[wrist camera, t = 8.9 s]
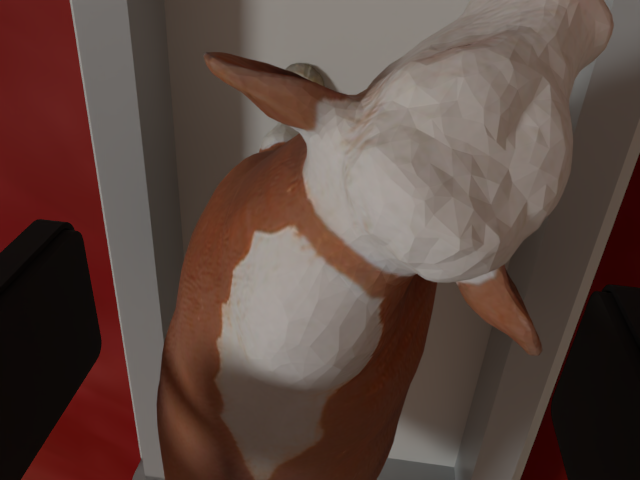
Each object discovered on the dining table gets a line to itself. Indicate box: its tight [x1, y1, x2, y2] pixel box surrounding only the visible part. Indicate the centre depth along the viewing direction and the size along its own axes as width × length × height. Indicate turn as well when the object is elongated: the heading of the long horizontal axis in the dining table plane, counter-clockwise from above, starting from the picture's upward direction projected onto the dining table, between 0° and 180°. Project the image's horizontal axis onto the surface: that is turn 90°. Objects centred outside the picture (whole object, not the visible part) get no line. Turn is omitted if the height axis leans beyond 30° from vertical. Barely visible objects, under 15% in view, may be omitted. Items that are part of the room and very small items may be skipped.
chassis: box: [70, 0, 640, 480], centre depth 14 cm, size 22×12×3 cm, turn 177°
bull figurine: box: [156, 0, 614, 480], centre depth 11 cm, size 4×13×8 cm, turn 163°
